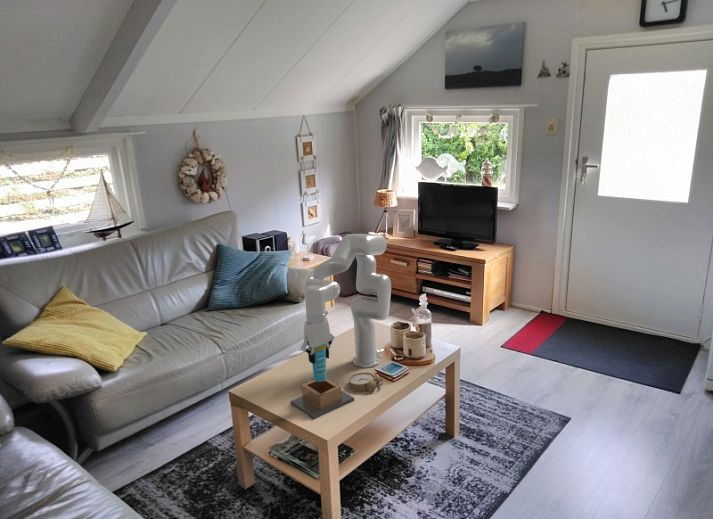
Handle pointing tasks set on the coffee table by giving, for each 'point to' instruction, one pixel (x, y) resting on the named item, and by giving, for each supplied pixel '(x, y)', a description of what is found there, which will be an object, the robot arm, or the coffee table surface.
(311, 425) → the coffee table surface
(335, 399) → the wooden box on base
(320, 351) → the tube
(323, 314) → the robot arm
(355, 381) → the alarm clock
